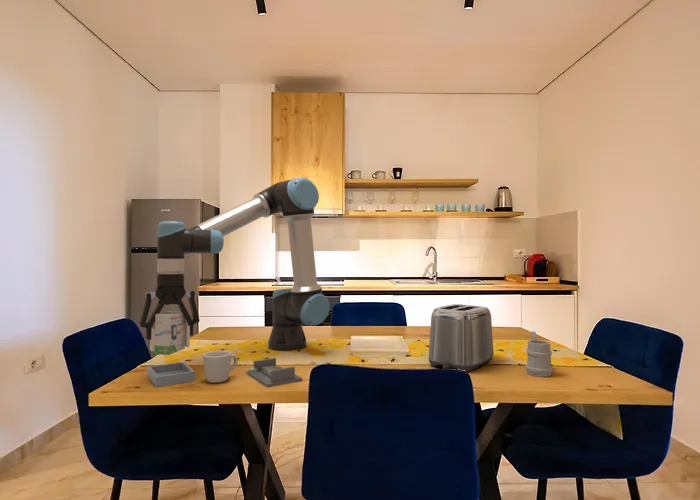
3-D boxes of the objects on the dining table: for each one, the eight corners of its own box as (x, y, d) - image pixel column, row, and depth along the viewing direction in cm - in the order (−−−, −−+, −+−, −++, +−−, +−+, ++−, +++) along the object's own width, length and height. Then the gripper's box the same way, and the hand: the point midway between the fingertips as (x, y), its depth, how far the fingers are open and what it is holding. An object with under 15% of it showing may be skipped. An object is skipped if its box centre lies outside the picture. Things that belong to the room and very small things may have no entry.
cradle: (279, 368, 142) (279, 356, 142) (302, 380, 128) (302, 367, 128) (246, 373, 136) (246, 361, 136) (267, 387, 122) (267, 373, 122)
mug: (529, 376, 132) (529, 337, 132) (519, 366, 144) (519, 330, 144) (556, 377, 131) (556, 337, 131) (544, 367, 143) (544, 330, 143)
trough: (183, 370, 139) (183, 361, 139) (194, 381, 128) (194, 371, 128) (147, 375, 134) (147, 366, 134) (155, 387, 122) (155, 377, 122)
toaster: (501, 359, 153) (501, 305, 154) (463, 378, 131) (462, 314, 131) (457, 352, 164) (457, 301, 164) (414, 368, 142) (414, 309, 142)
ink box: (170, 348, 135) (171, 310, 135) (186, 349, 134) (186, 310, 134) (153, 354, 127) (153, 313, 127) (169, 355, 126) (169, 314, 126)
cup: (228, 373, 136) (228, 347, 136) (244, 378, 131) (244, 351, 131) (197, 381, 128) (197, 353, 128) (213, 386, 123) (213, 358, 123)
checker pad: (272, 369, 137) (272, 365, 137) (286, 376, 129) (286, 372, 129) (260, 371, 135) (260, 367, 135) (274, 378, 127) (274, 374, 127)
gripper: (204, 272, 140) (203, 342, 140) (128, 273, 128) (127, 350, 128) (211, 272, 134) (210, 346, 134) (131, 274, 122) (131, 355, 122)
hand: (170, 348), depth 131 cm, fingers closed on ink box, 9 cm apart
